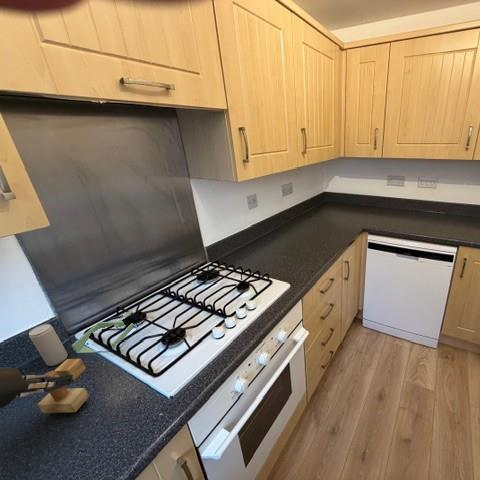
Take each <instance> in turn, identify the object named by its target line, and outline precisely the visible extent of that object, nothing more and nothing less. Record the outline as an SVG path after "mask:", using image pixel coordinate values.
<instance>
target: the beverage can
mask: <svg viewBox="0 0 480 480" xmlns="http://www.w3.org/2000/svg"><path fill="white" fill-rule="evenodd" d="M28 337H29V339H30V341H31V342H32V344H33V345H34V347H35V348H36V350H37V351H38V353H39V354H40V356H41V358H42V359H43V361H44V363H45V364H46V365H47V366H49V367H54V366H57V365H59V364H60V365H61V364H62V363H63V362H64V361H66V360H67V359H68V355H69V354H68V351H67V350H66V349H65V346H64V345H63V342H62V341H61V339H60V338H59V335H58V334H57V332H56V330H55V329H54V327H53V326H52V325H51V324H50V323H45V324H42V325H41V324H40V325H39V326H36V327H35V328H33V329H31V330H30V331H29V332H28Z"/></svg>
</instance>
